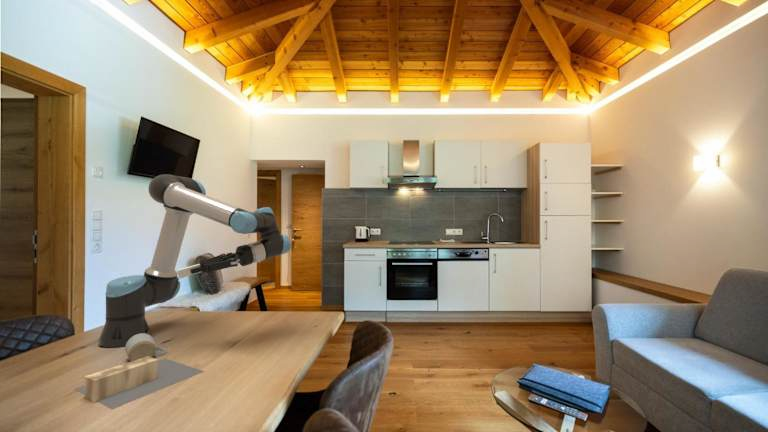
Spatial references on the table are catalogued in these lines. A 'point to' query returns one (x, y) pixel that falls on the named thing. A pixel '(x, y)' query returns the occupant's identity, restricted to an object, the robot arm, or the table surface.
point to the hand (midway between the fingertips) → (178, 274)
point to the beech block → (120, 378)
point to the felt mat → (150, 383)
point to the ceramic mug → (142, 347)
